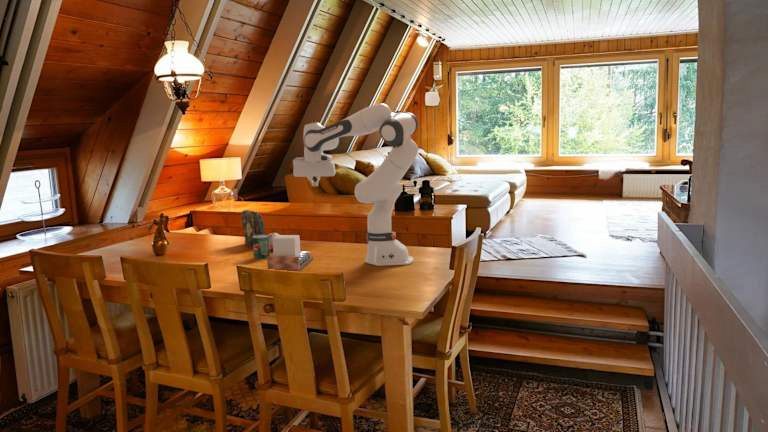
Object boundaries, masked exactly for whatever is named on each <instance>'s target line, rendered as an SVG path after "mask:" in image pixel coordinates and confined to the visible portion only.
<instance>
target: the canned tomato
mask: <svg viewBox="0 0 768 432" xmlns="http://www.w3.org/2000/svg"><path fill="white" fill-rule="evenodd" d="M270 249H271V248H270V247H269V234H264V235H255V236H253V248H252V250H253V259H254V260H257V261H258V260H260V261H261V260H267V257H268V256H271V250H270Z"/></svg>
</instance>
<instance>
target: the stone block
mask: <svg viewBox="0 0 768 432" xmlns="http://www.w3.org/2000/svg"><path fill="white" fill-rule="evenodd" d="M240 216H241V218H240V219H241V223H242V228H243V232H244V233H243V234H244V244H245V245H246V246H247V247H249V248H252V249H253V236H255V235H265V230H266V225H265V223H264V219H263V216H262V215H261V213H259V212H257V211H255V210H250V209H249V210H248V209H245V210H242V212H241V215H240Z"/></svg>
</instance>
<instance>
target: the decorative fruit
mask: <svg viewBox="0 0 768 432" xmlns="http://www.w3.org/2000/svg"><path fill="white" fill-rule="evenodd" d="M268 235H269V247H270V249H271V250H273V238H274V237H276V236H278V235H280V234H279V233H278V232H276V231H275V232H274V231H272V233H269V234H268Z"/></svg>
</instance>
